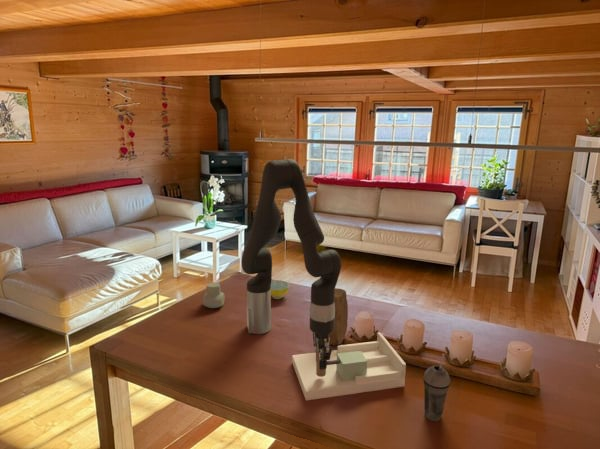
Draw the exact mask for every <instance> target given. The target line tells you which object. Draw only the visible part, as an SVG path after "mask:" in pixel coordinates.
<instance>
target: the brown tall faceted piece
mask: <svg viewBox="0 0 600 449" xmlns="http://www.w3.org/2000/svg"><path fill="white" fill-rule="evenodd" d="M334 304H335V325H334V330H333V332H331V333H330V334H329V335H328V336H329V337H330V342H329V346H339V345H342V343H343V342H344V340H343V338H344V339H345V337H346V334H347V330H348V319H349V318H348V317H349V309H348V308H349V306H348V298H347V290H345V289H343V288H336V287H335V297H334ZM342 341H343V342H342Z"/></svg>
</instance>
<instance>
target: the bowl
mask: <svg viewBox="0 0 600 449" xmlns="http://www.w3.org/2000/svg"><path fill="white" fill-rule="evenodd" d="M289 289H290V283H289V282H287V281H284V280H280V279H278V280H277V279H275V280H272V281H271V299H275V300H280V299H282V297H284V296H285V295H286V294H287V293H288V292H289Z"/></svg>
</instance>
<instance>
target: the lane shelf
mask: <svg viewBox="0 0 600 449" xmlns="http://www.w3.org/2000/svg"><path fill="white" fill-rule="evenodd" d="M376 337H377V340H375V341H367V342H358V343H350V344H349V343H348V344H339V345H337V349H332V352H331V356H330V360H327V361H332V360H337V354H338V353H346V352H354V351H361V352H362V354H363V355H364V357H365V358H366V360H367V375H361V376H355V380H348V381H342V380H341V378H340V376H339V374H338V372H337V370H336V364H333V365H327V368H326V375H325V376H323V377H320V376H317V375H316V352H308V353H300V354H292V358H291V360H292V366H293V369H294V371H295V374H296V377H297V379H298V383H299V385H300V388H301V391H302V393H303V396H304V399H305V401H311V400H319V399H327V398H332V397H339V396H340V397H341V396H346V395H355V394H360V393H367V392H368V393H369V392H374V391H382V390H388V389H395V388H403V387H405V382H406V369H407V364H406V362H405V361H404V359H403V358H402V357H401V356H400V354H398V352H397V351H396V350H395V349H394V348H393V346H392V345H391V343H389V341H388V340H387V338H386V337H385V336H384V335H383V334H382V332H377V336H376ZM378 347H379V348H378Z"/></svg>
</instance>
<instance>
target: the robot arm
mask: <svg viewBox="0 0 600 449" xmlns="http://www.w3.org/2000/svg"><path fill="white" fill-rule="evenodd" d="M287 189H290V190H291V191H292V192H293V195H294V198H295V205H294V210H293V219H292V220H293V225H294V230H295V231H296V234H297V237H298V239H299V240H300V242H301V243H300V244H301V248H302V254H303V260H304V261H303V262H304V265H305V266H304V267H305V270H306V271H307V273H308V274H309V275H310V276H311V277H314V278H317V280H315V281H314V282H312V283H311V286H310V287H311V288H310V305H309V330H310V331H311V332H312V340H313V347H314V348H315V349H314V350H315V353H316V357H317V350H318V352H319V369H320V370H323V369H326V368H327V360H330V356H331V352H332V351H333V346H332V345H330V344H329V342H330V337H329V336H328V335H329V334H330V333H331V332H333V330H334V325H335V304H334V297H335V288H336V286H337V283H338V281H339V277H340V273H341V269H342V260H341V256H340V254H339V252H338V251H336V249H325V250H321V251H318V248H317V247H318V246H320V245H322V243H323V242H324V240H325V235H324V233H323V230H322V228H321V226H320V224H319V222H318V220H317V218H316V215H315V213H314V210H313V207H312V204H311V200H310V197H309V196H310V195H309V192H308V188H307V186H306V181H305V178H304V175H303V171H302V169H301V167H300V164H298V161H296V160H295V159H293V158H285V159H276V160H270V161H268V162H267V163H266V164H265V166H264V168H263V171H262V177H261V184H260V192H259V197H258V202H257V205H256V209H255V213H254V215H253V220H252V225H251V229H250V234H249V237H248V239H247V242H246V245H245V248H244V250H243V253H242V256H241V268H242V271H243V272H244V273H245V274H246V275H255V276H253V277H251V278H250V279H249V280H248V281H247V283H246V328H247V331H248V334H254V335H264V334H267V333H269V332H270V331H271V329H272V308H271V307H272V300H271V299H272V296H271V281H273V280H272V279H273V278H272V274H273V258H272V257H273V256H272V253H271V251H270V249H269V248H267V247H265V246H266V245H267V244H268V243H270V242H271V241H272V239H273V238H274V237H276V235H277V233H278V231H279V228H280V225H281V220H282V214H281V211H280V209H279V206H278V204H277V203H276V202H275V201H276V200H275V198H276V193H277V192H278V191H280V190H287Z"/></svg>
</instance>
